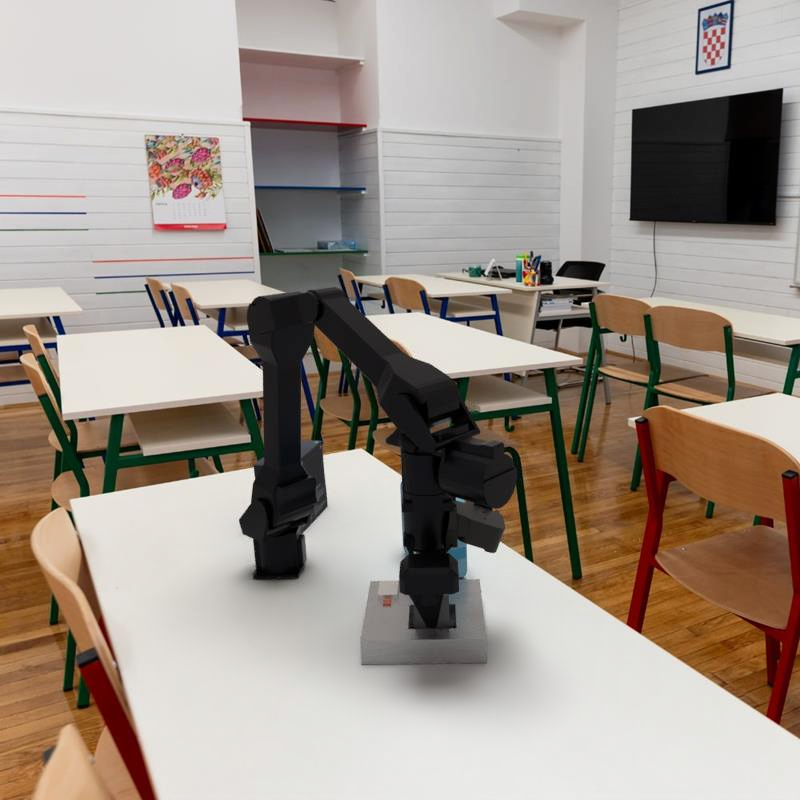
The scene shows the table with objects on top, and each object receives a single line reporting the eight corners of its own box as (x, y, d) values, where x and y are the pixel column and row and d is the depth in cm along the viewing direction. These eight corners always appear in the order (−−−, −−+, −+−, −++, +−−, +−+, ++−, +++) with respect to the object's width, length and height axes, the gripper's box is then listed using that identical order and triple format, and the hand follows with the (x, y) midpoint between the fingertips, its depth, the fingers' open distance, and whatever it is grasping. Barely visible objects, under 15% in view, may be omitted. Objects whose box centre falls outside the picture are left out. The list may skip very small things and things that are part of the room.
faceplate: (361, 664, 87) (360, 635, 86) (371, 602, 101) (370, 576, 100) (487, 662, 86) (486, 633, 85) (480, 600, 100) (479, 574, 99)
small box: (291, 503, 136) (286, 438, 133) (328, 506, 134) (323, 439, 131) (258, 534, 123) (252, 463, 120) (298, 537, 121) (292, 465, 118)
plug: (412, 650, 89) (409, 587, 87) (413, 628, 94) (410, 568, 92) (453, 650, 89) (452, 586, 87) (453, 628, 94) (451, 567, 92)
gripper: (507, 518, 77) (508, 656, 81) (493, 458, 95) (495, 574, 99) (395, 520, 78) (402, 658, 82) (403, 460, 96) (408, 575, 100)
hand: (431, 612), depth 91 cm, fingers open, 6 cm apart
